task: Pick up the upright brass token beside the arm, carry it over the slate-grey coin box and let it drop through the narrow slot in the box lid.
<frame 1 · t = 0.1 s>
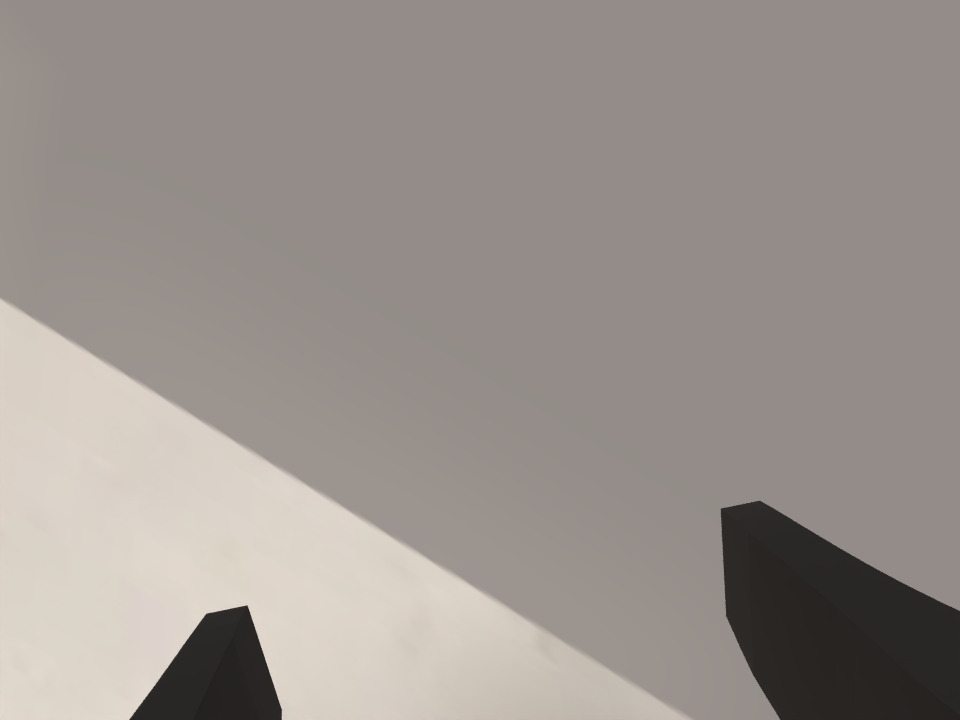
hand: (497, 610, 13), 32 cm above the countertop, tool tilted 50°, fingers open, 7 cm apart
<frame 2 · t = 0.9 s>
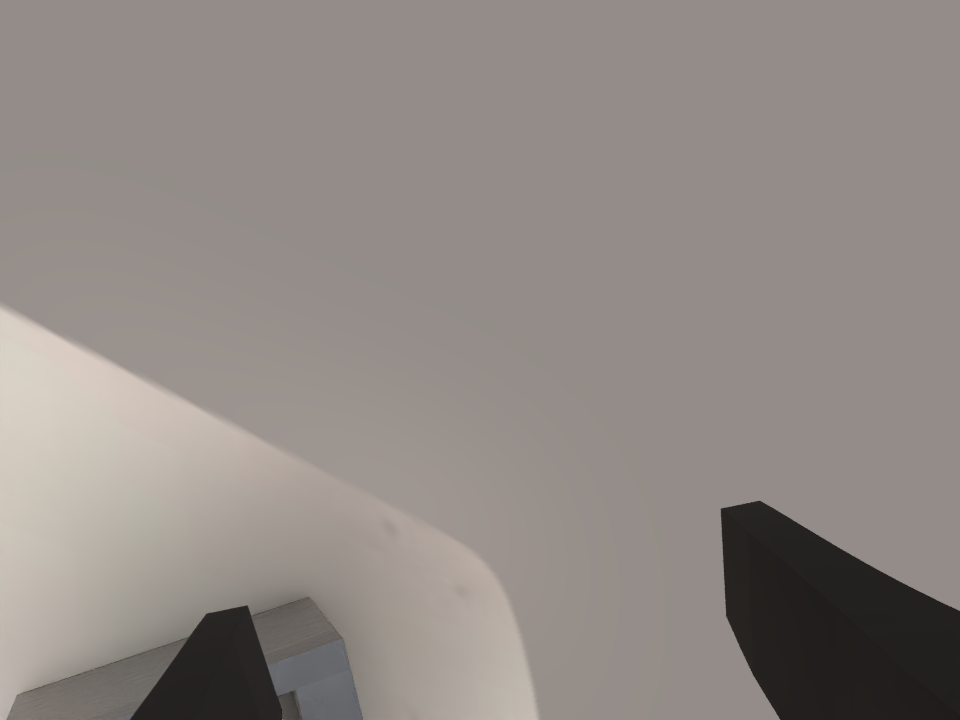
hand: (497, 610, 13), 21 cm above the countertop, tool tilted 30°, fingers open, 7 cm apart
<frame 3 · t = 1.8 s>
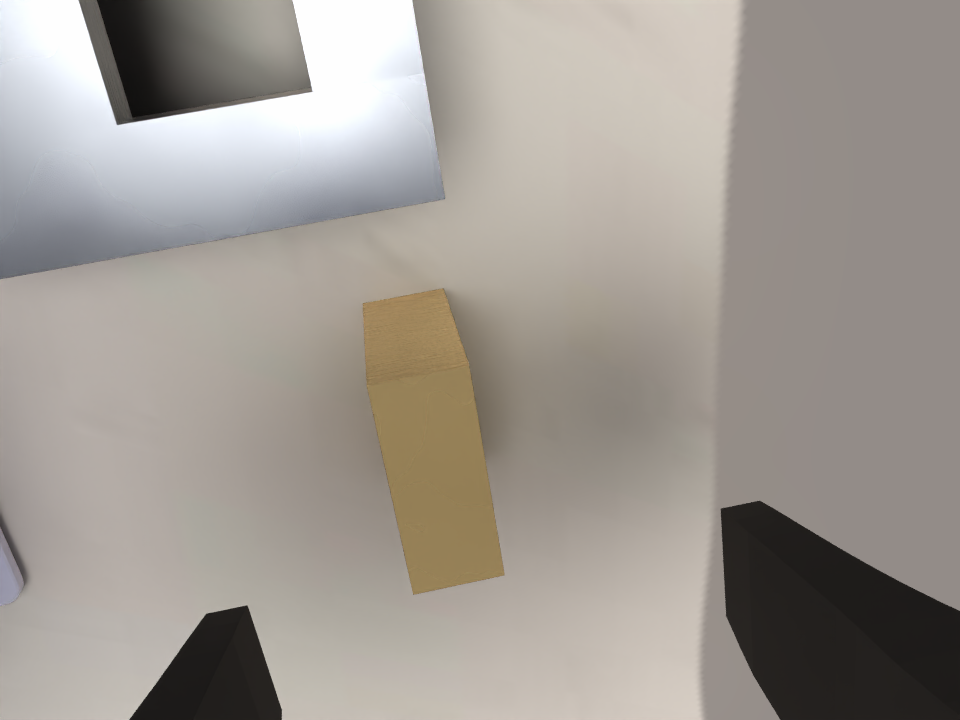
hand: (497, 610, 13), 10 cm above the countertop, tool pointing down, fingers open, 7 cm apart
token: (420, 386, 22), on the countertop
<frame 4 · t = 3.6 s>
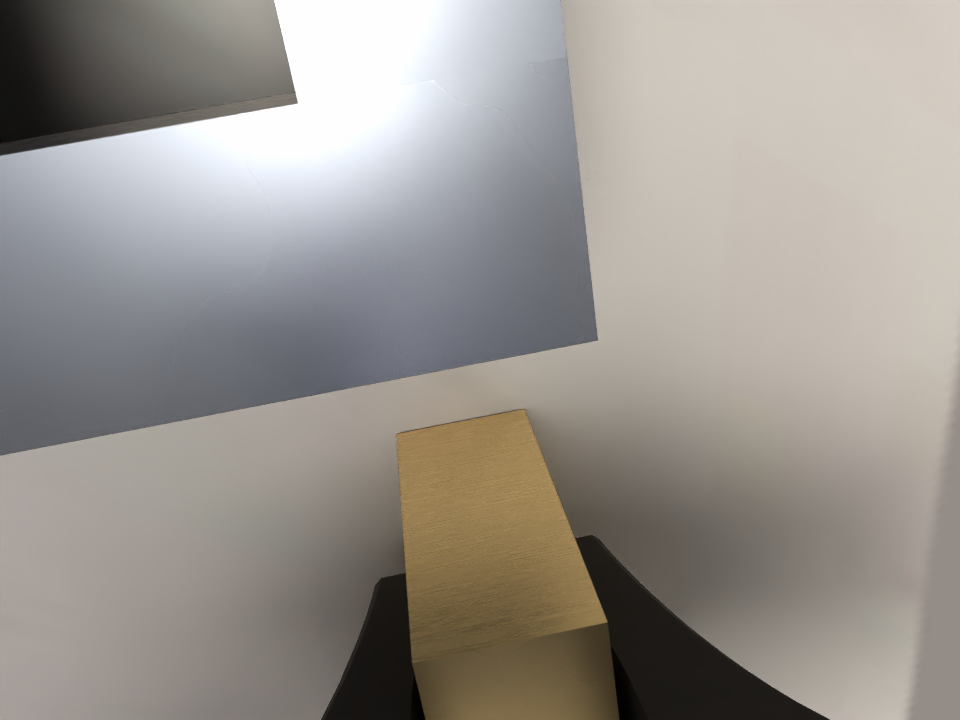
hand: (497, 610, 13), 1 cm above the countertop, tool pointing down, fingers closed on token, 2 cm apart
token: (485, 554, 14), on the countertop, touching gripper
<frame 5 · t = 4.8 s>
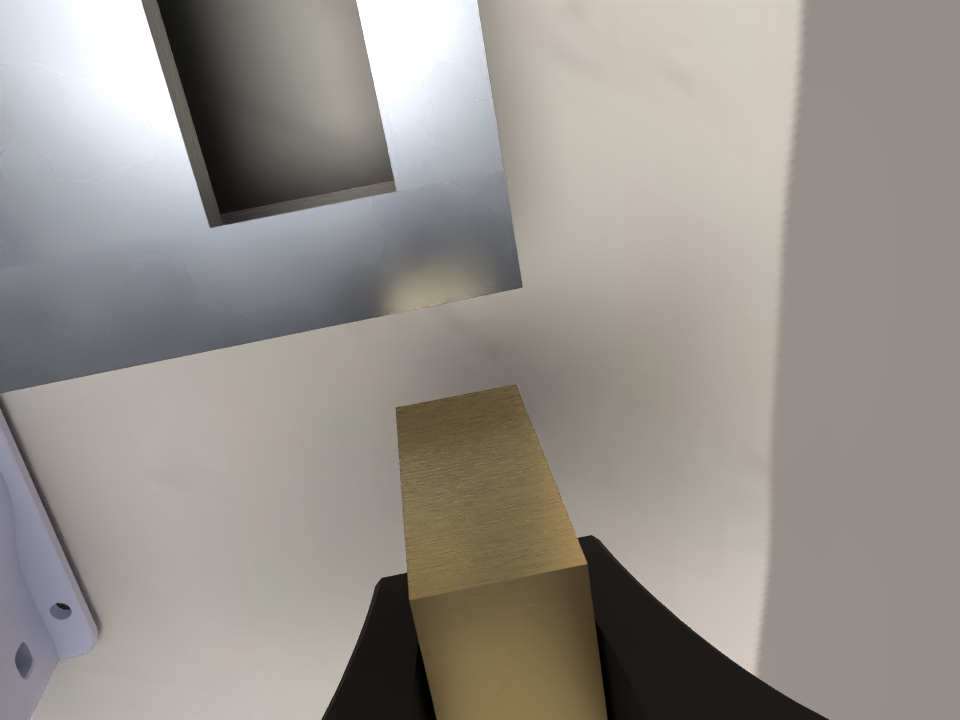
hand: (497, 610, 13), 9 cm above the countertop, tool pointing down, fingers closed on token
token: (479, 523, 15), point 7 cm above the countertop, touching gripper
coin box: (204, 23, 18), on the countertop
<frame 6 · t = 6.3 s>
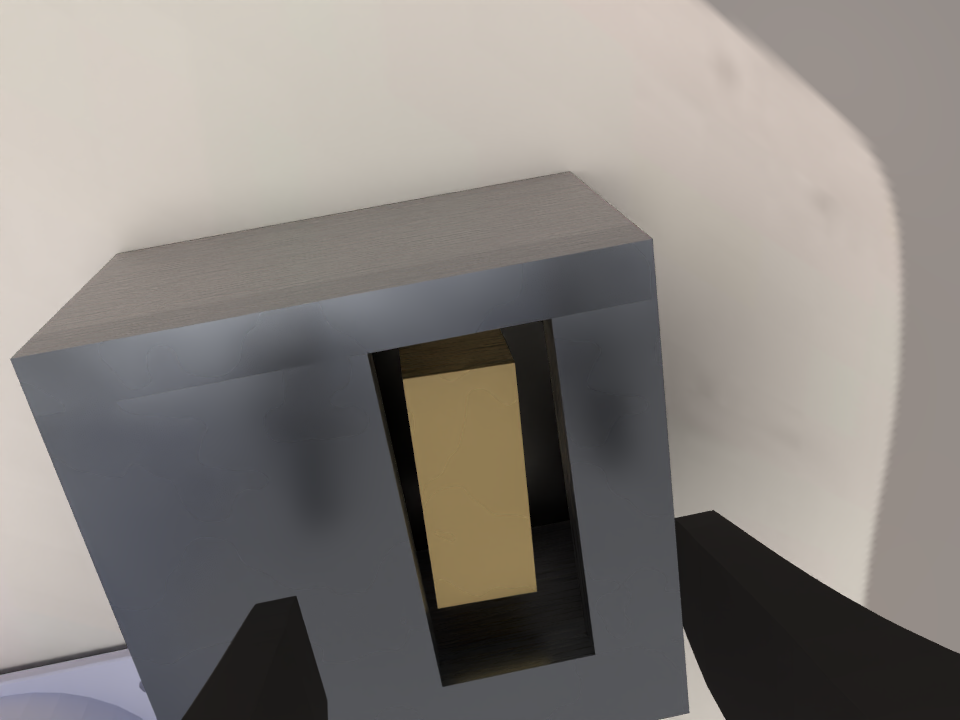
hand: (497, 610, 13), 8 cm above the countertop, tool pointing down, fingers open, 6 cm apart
token: (448, 385, 21), resting in coin box
coin box: (390, 414, 21), on the countertop
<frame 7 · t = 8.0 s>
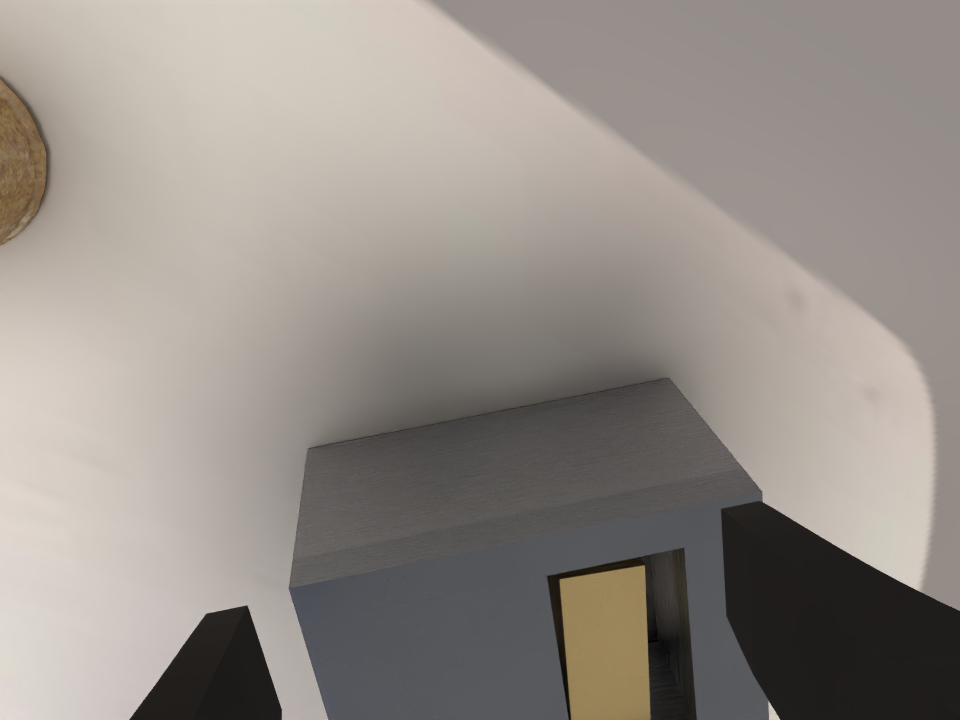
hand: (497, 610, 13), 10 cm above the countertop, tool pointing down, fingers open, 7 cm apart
token: (563, 539, 25), resting in coin box
coin box: (515, 563, 25), on the countertop
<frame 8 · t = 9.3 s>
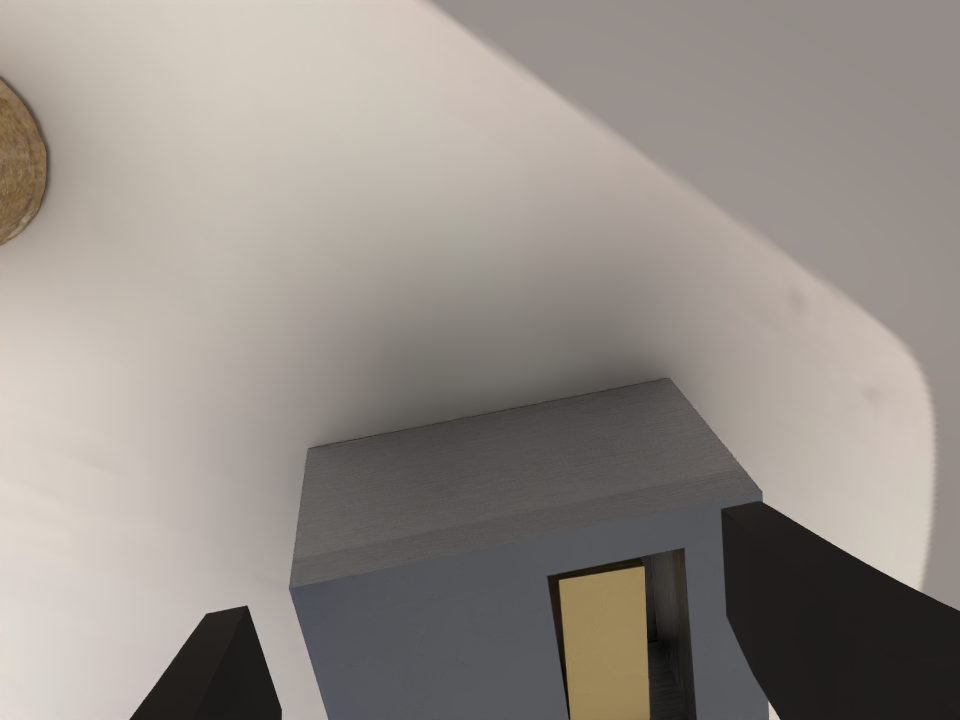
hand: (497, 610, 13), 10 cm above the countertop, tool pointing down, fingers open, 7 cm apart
token: (563, 539, 25), resting in coin box
coin box: (516, 563, 25), on the countertop
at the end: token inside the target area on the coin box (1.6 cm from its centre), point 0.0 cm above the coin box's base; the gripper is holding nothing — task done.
